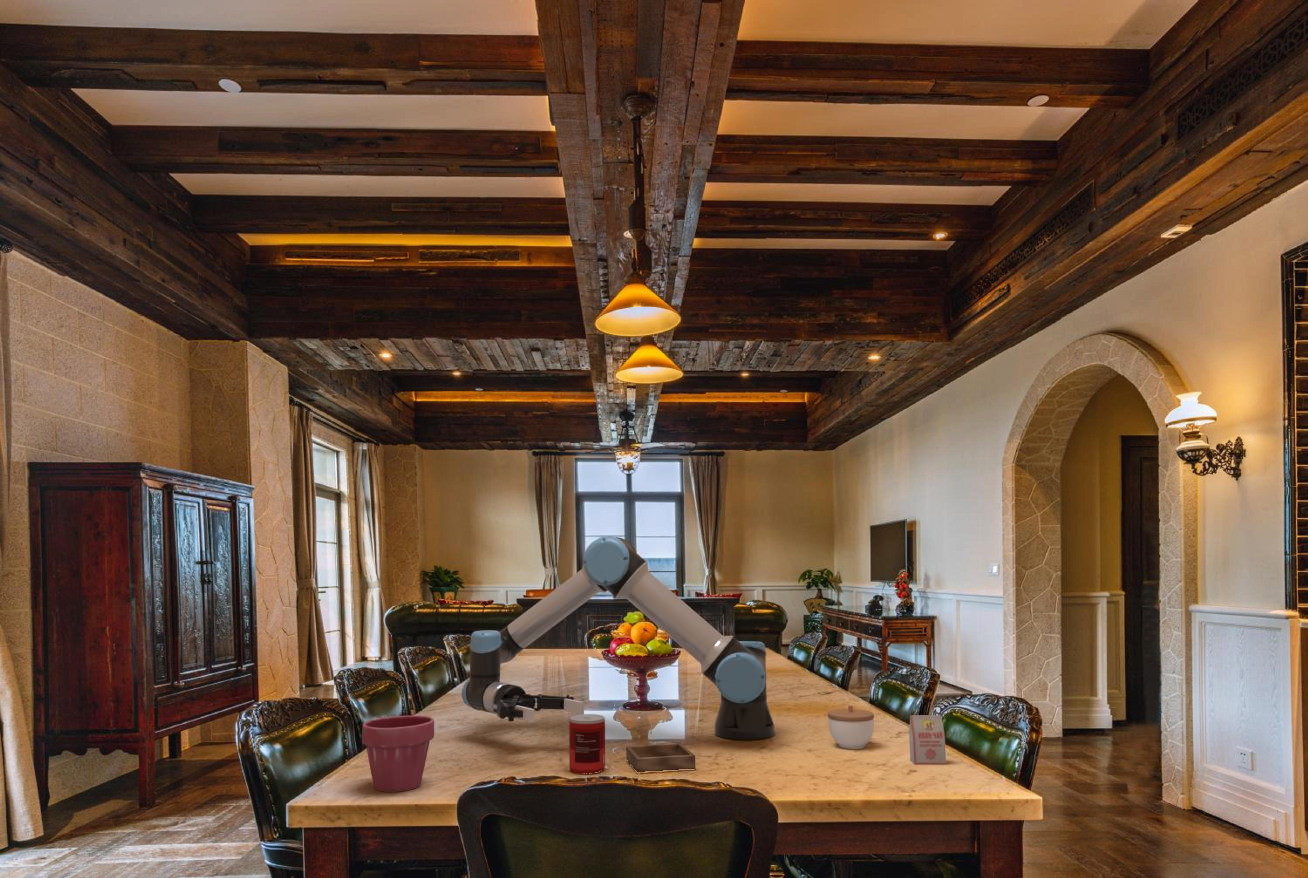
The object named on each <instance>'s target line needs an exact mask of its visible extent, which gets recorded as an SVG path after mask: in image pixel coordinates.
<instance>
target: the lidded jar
mask: <svg viewBox="0 0 1308 878" xmlns="http://www.w3.org/2000/svg"><path fill="white" fill-rule="evenodd" d="M853 707H854V706H853V705H852V704H851V705H850V704H849V705H848V706H847V708H837V709H831V710H829V711H828V712H827V718H828V719H827V720H828V729H829V732H830V735H831V737H832V739H833V740H834V741H835V742H836V744H837V745H838V747H839V748H841V749H846V750H861V749H862V750H863V749H864V748H866V746H867V744H868V743H870V741H871V740H872V737H873V733H874V725H875V722H874V719H875V714H874V712H873V711H870V710H866V709H860V708H853Z"/></svg>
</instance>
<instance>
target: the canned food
mask: <svg viewBox="0 0 1308 878" xmlns="http://www.w3.org/2000/svg"><path fill="white" fill-rule="evenodd" d="M605 718H606V717H605V716H604V715H601V714H595V713H584V714H581V715H580V714H575V715H572V716H570V717H569V722H568V723H569V727H568V729H569V731H568V732H569V733H568V736H569V737H568V738H569V741H568V742H569V748H568V749H569V759H568V760H569V770H570V772H571V771H572V773H573V772H574V773H573V774H576V773H580V774H579V775H590V774H589V773H595V772H599V771H601V770H603V769H604V770H605V767H606V719H605ZM604 770H603V771H604ZM581 773H582V774H581ZM583 773H585V774H583ZM586 773H587V774H586Z"/></svg>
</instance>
